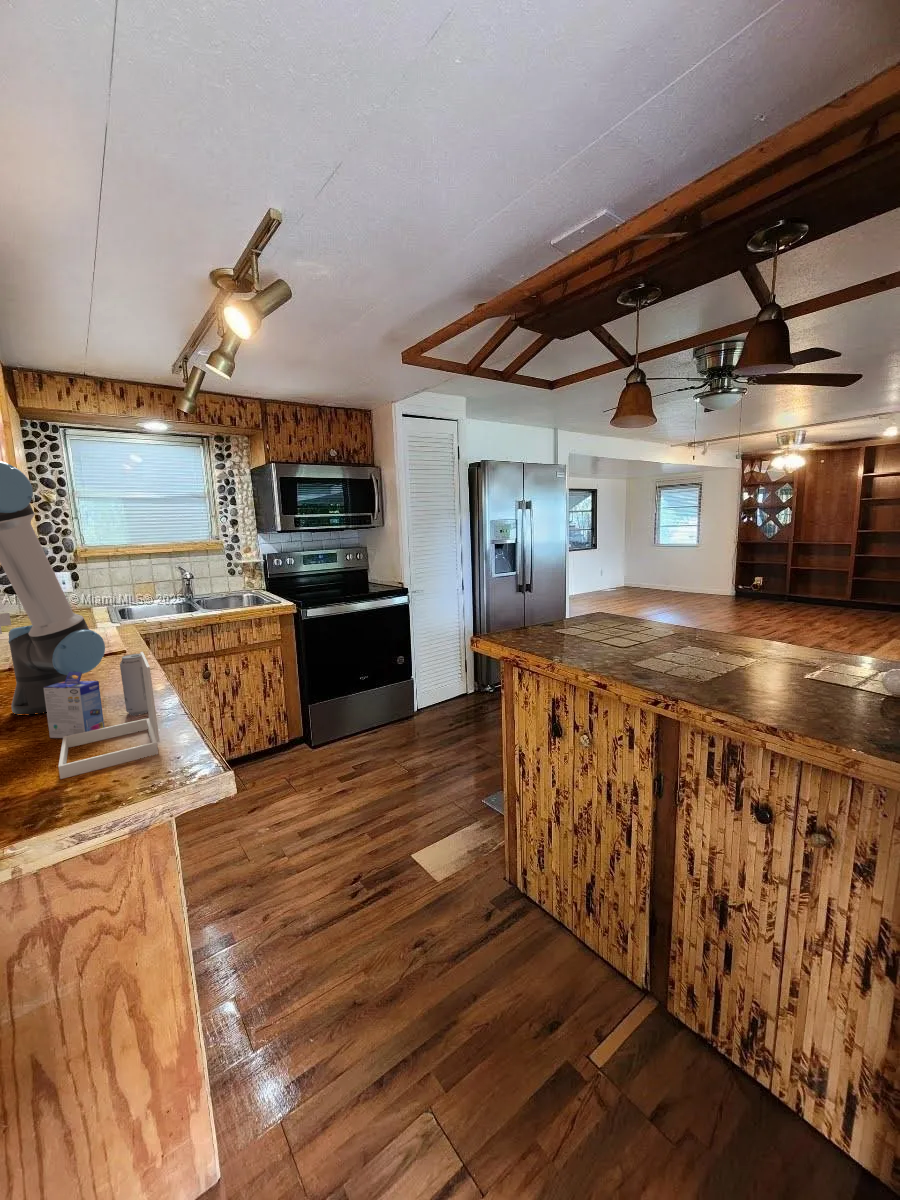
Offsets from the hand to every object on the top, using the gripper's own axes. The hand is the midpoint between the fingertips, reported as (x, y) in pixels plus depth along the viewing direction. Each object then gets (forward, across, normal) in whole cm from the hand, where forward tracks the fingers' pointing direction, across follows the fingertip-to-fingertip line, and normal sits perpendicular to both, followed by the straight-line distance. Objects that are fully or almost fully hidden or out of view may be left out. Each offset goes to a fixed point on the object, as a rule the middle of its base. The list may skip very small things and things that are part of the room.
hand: (5, 622), depth 103 cm
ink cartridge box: (+9, -2, -28) cm, 30 cm away
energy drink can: (+22, -10, -28) cm, 37 cm away
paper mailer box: (+15, +14, -28) cm, 35 cm away
